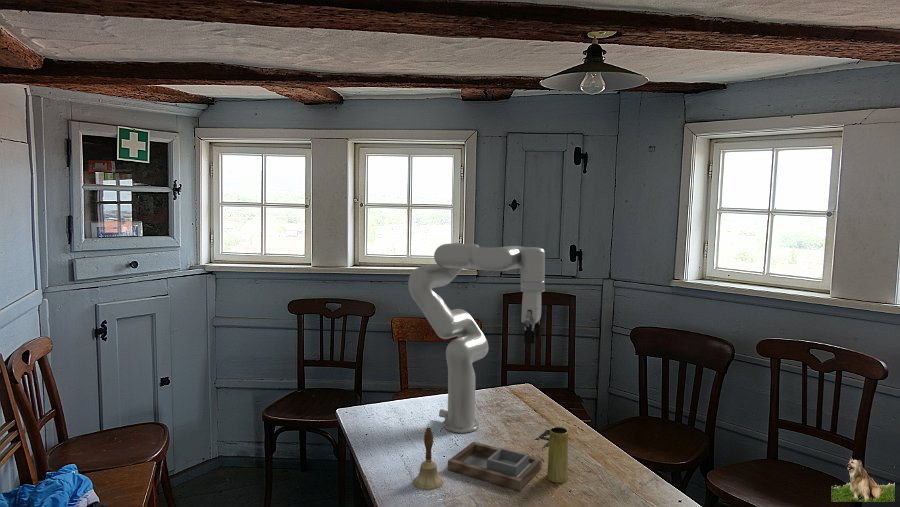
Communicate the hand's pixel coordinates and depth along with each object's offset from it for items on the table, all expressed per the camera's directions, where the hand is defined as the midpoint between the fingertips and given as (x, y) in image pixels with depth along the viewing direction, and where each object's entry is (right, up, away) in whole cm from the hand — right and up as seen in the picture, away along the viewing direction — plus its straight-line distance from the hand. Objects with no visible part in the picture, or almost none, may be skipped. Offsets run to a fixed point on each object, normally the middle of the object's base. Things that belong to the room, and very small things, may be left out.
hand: (532, 339), depth 183 cm
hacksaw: (+4, -36, +3) cm, 36 cm away
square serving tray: (-9, -37, -15) cm, 41 cm away
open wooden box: (-13, -36, -13) cm, 41 cm away
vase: (+5, -37, -18) cm, 42 cm away
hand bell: (-32, -37, -22) cm, 54 cm away
